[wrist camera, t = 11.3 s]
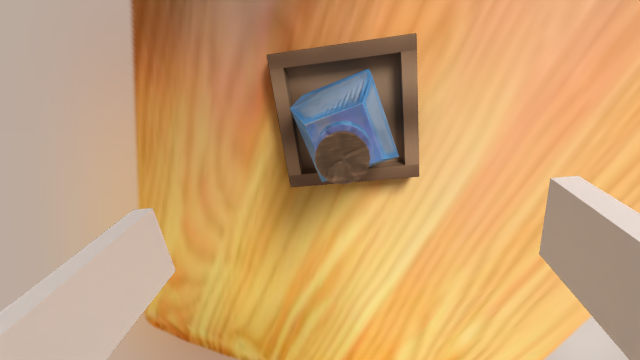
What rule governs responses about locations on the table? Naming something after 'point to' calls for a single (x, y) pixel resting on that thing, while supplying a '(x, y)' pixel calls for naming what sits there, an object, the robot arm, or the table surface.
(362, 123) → the perfume bottle
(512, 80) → the table surface
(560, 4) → the table surface
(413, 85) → the walnut tray
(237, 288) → the table surface
